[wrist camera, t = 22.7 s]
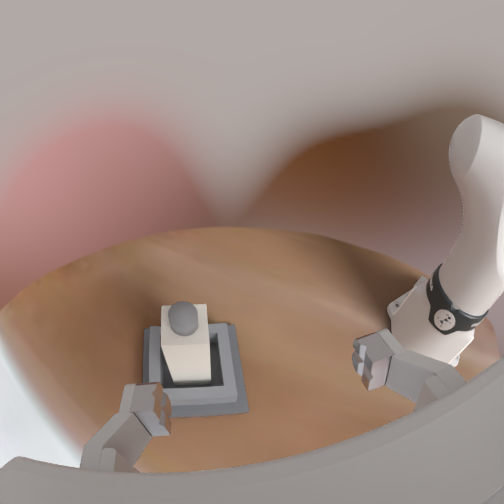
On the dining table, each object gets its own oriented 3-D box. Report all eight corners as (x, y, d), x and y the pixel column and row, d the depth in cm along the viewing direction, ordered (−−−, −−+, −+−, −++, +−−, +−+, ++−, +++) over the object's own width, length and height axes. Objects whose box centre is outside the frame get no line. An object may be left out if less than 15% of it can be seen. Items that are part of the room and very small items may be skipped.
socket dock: (234, 327, 45) (235, 313, 42) (248, 412, 35) (251, 404, 32) (145, 331, 42) (140, 317, 39) (145, 417, 32) (138, 410, 29)
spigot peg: (207, 352, 40) (205, 292, 30) (211, 383, 37) (209, 333, 27) (173, 353, 39) (159, 294, 30) (174, 385, 36) (157, 335, 26)
